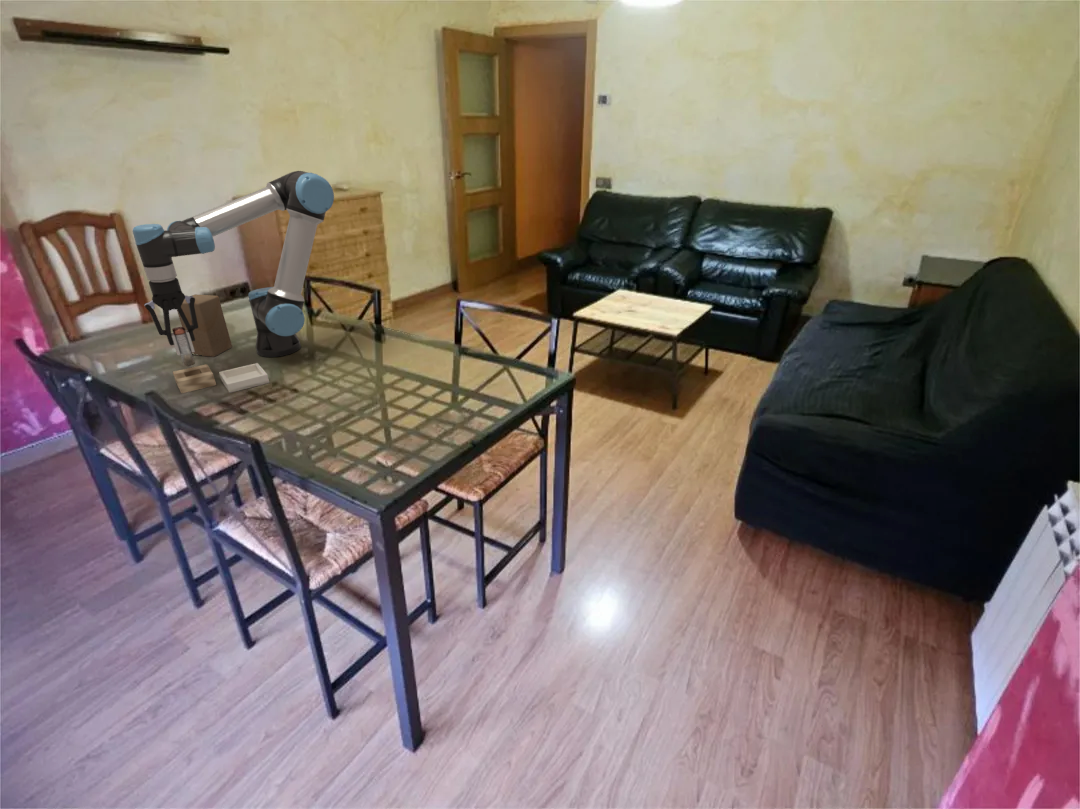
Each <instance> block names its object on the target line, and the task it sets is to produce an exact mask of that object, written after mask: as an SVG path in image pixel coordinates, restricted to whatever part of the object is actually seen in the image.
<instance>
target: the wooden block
mask: <svg viewBox="0 0 1080 809" xmlns="http://www.w3.org/2000/svg"><path fill="white" fill-rule="evenodd" d="M191 296H193V297H194V298H195V303H194V308H195V313H196V318H197V322H198V328H197V329H194V330H193V334H194V337H195V341H192V344H193V347H194V351H195V352H192V353H194V354H198V355H197V356H199V355H202V356H201V357H213V358H215V357H217V356H219V355H220V354H222V353H224V352H226V351H228V350H229V349H231V348H232V347H233V344H232V340H231V336H230V334H229V330H228V325H227V321H226V319H225V314H224V311H223V308H222V307H223V306H222V304H221V300H220V297H219V296H218V295H209V294H208V295H207V294H191ZM181 308H182V310H183V312H184V314H185V316H186V318H187V320H188V322H189V324H190V325H192V320H191V315H190V310H189V305H188V303H187V302H186V299H184V301H183V303H182V305H181ZM176 311H177V310H176ZM177 316H178V319H179V321H180V324H181V327H184V328H185V331H186V330H187V328H186V326H185V324H184V322H183V320H182V318H181V316H180V314H179V313H178V311H177Z"/></svg>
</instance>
